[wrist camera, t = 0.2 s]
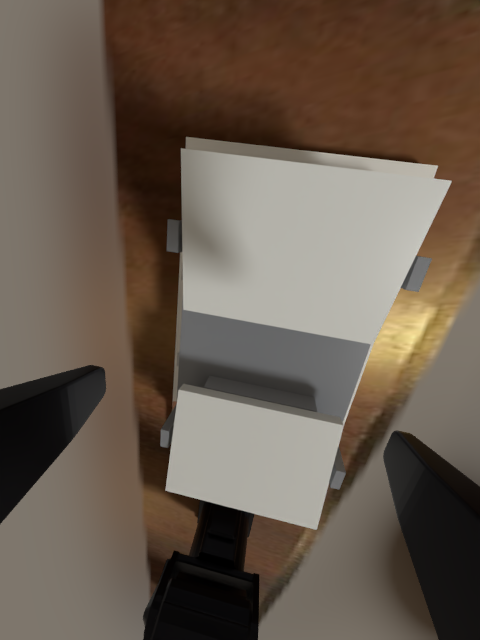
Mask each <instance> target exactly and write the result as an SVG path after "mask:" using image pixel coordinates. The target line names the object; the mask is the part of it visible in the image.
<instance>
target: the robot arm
mask: <svg viewBox="0 0 480 640" xmlns="http://www.w3.org/2000/svg"><path fill="white" fill-rule="evenodd" d="M105 391H106V382H105V370H104V368H102V367H99V366H94V365H88V366H85V367H81V368H77V369H74V370H70V371H66V372H63V373H59V374H55V375H51V376H48V377H44V378H40V379H37V380H33V381H29V382H26V383H22V384H18V385H14V386H11V387H7V388H3V389H0V523H2V521H3V520H4V519H5V518H6V517H7V516H8V514H9V513H10V512H11V511H12V510H13V508H14V507H15V506H16V505H17V504H18V503H19V502H20V500H21V499H22V498H23V497H24V496H25V495H26V493H27V492H28V491H29V490H30V489H31V488H32V486H33V485H34V484H35V483H36V482H37V481H38V479H39V478H40V477H41V476H42V475H43V474H44V472H45V471H46V470H47V469H48V468H49V466H50V465H51V464H52V463H53V462H54V461H55V459H56V458H57V457H58V456H59V455H60V454H61V453H62V451H63V450H64V449H65V448H66V447H67V445H68V444H69V443H70V442H71V441H72V439H73V438H74V437H75V435H76V434H77V433H78V431H79V430H80V429H81V427H82V426H83V425H84V423H85V422H86V420H87V419H88V417H89V416H90V415H91V413H92V412H93V410H94V409H95V407H96V406H97V405H98V403H99V402H100V401H101V399H102V398H103V396H104V394H105ZM383 457H384V463H385V467H386V472H387V475H388V480H389V484H390V488H391V492H392V496H393V501H394V505H395V509H396V513H397V517H398V520H399V523H400V526H401V529H402V532H403V535H404V538H405V541H406V544H407V547H408V550H409V553H410V556H411V559H412V562H413V565H414V568H415V571H416V574H417V577H418V579H419V583H420V585H421V588H422V591H423V594H424V597H425V600H426V603H427V606H428V609H429V612H430V615H431V618H432V621H433V624H434V627H435V630H436V633H437V635H438V639H439V640H480V486H478V485H477V484H476V483H474V482H473V481H472V480H471V479H469V478H468V477H467V476H465V475H464V474H463V473H461V472H460V471H459V470H458V469H456V468H455V467H454V466H452V465H451V464H450V463H449V462H447V461H446V460H445V459H443V458H442V457H441V456H439V455H438V454H437V453H436V452H434V451H433V450H432V449H430V448H429V447H428V446H426V445H425V444H423V442H421V441H420V440H419V439H417V438H416V437H415V436H413V435H412V434H410V433H406V432H402V431H394V432H393V433H392V434H391V437H390V439H389V441H388V443H387V446H386V448H385V450H384V456H383ZM253 517H254V514H253V513H250V512H246V511H242V510H238V509H234V508H230V507H226V506H222V505H219V504H215V503H211V502H207V501H203V500H200V505H199V513H198V522H197V523H198V525H197V529H196V533H195V536H194V540H193V543H192V547H191V550H190V554H189V556H187V555H184V554H180V553H179V552H178V551H174V552H173V555H172V557H171V559H168V560H167V561H166V564H165V566H164V569H163V572H162V575H161V578H160V580H159V583H158V585H157V587H156V589H155V591H154V593H153V595H152V597H151V599H150V601H149V603H148V605H147V607H146V609H145V612H144V615H143V621H144V625H145V630H144V639H143V640H258V618H259V574H255V573H254V574H251V573H247V572H244V563H245V554H246V545H247V537H249V534H250V530H251V526H252V522H253Z"/></svg>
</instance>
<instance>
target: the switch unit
mask: <svg viewBox="0 0 480 640" xmlns="http://www.w3.org/2000/svg"><path fill="white" fill-rule="evenodd" d="M186 149H191V150H199V151H207V152H216V153H224V154H232V155H241V156H249V157H257V158H266V159H274V160H282V161H291V162H299V163H307V164H316V165H324V166H332V167H341V168H349V169H357V170H366V171H374V172H382V173H391V174H399V175H407V176H415V177H424V178H432V179H433V178H434V176H435V173H436V170H437V167H438V166H435V165H426V164H417V163H409V162H400V161H391V160H383V159H374V158H365V157H357V156H348V155H339V154H331V153H322V152H313V151H305V150H296V149H287V148H279V147H270V146H261V145H252V144H244V143H235V142H226V141H218V140H209V139H200V138H192V137H186ZM167 251H170V252H176V253H179V252H180V266H179V286H178V305H177V325H176V345H175V364H174V384H173V403H172V412H171V414H170V415H169V417H168V419H167V420H166V422H165V424H164V425H163V427H162V428H161V442H160V446H161V447H165V448H168V447H169V446H170V444H171V442H172V436H173V428H174V421H175V413H176V405H177V398H178V390H179V389H180V387H181V386H182V385H183V384H187V385H192V386H197V387H201V388H206V389H211V390H215V391H220V392H225V393H229V394H234V395H239V396H243V397H248V398H253V399H257V400H262V401H267V402H271V403H276V404H281V405H285V406H290V407H295V408H299V409H304V410H309V411H313V412H318V413H323V414H327V415H332V416H337V417H340V419H341V421H342V423H343V425H344V423H345V421H346V418H347V415H348V412H349V410H350V407H351V404H352V401H353V399H354V396H355V393H356V390H357V388H358V385H359V382H360V379H361V377H362V374H363V371H364V368H365V366H366V363H367V360H368V357H369V355H370V352H371V349H372V346H373V345H372V344H367V343H361V342H356V341H350V340H345V339H340V338H334V337H329V336H323V335H318V334H312V333H307V332H302V331H296V330H291V329H285V328H280V327H275V326H269V325H264V324H258V323H253V322H247V321H242V320H237V319H231V318H226V317H220V316H215V315H209V314H204V313H199V312H193V311H188V310H183V254H182V221H181V220H171V219H168V225H167ZM431 260H432V259H431V258H426V257H421V256H416V257H415V259H414V261H413V263H412V265H411V267H410V269H409V271H408V273H407V275H406V277H405V279H404V282H403V284H402V286H401V288H403V289H405V290H410V291H416V292H419V290H420V287H421V285H422V282H423V280H424V277H425V275H426V272H427V270H428V267H429V265H430V262H431ZM345 474H346V471H345V468H344V464H343V460H342V457H341V453H340V449H339V446H338V449H337V453H336V457H335V461H334V465H333V469H332V473H331V477H330V480H329V483H330V487H331V488H335V489H340V486H341V484H342V481H343V479H344V476H345Z"/></svg>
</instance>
